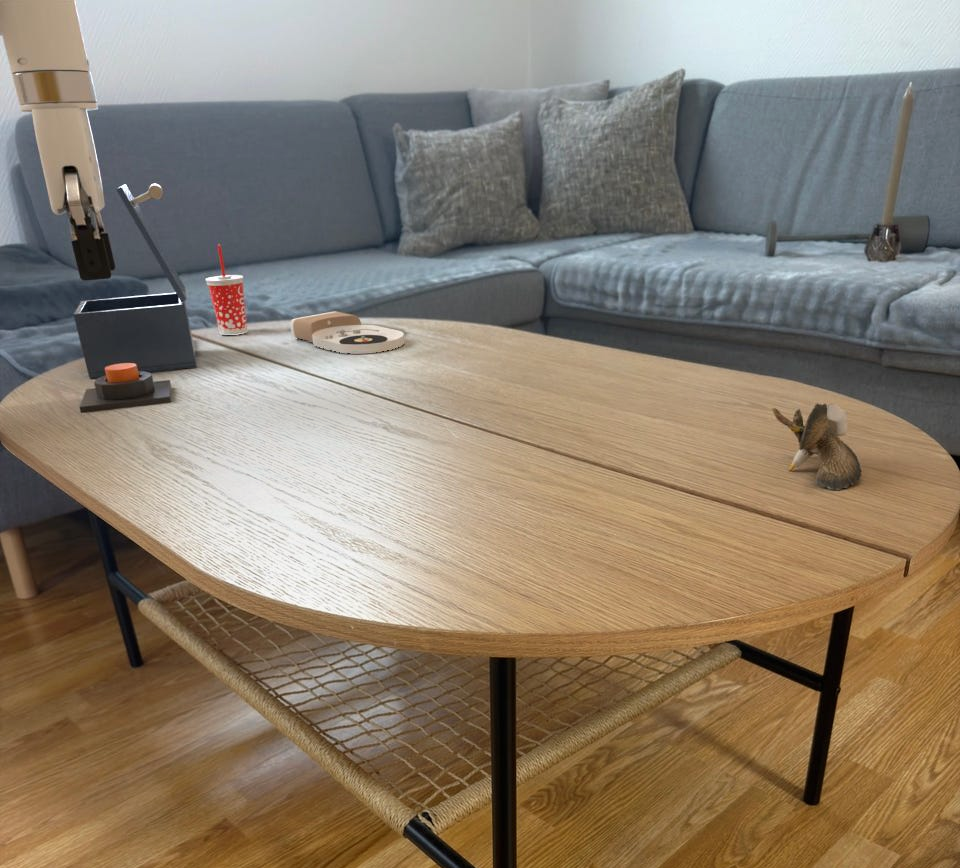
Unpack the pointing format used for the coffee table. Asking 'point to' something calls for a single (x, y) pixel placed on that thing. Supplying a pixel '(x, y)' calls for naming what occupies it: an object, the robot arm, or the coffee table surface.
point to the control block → (125, 393)
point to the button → (121, 372)
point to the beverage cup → (228, 301)
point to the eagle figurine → (824, 445)
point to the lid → (152, 233)
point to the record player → (345, 333)
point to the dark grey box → (135, 333)
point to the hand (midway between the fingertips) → (98, 273)
